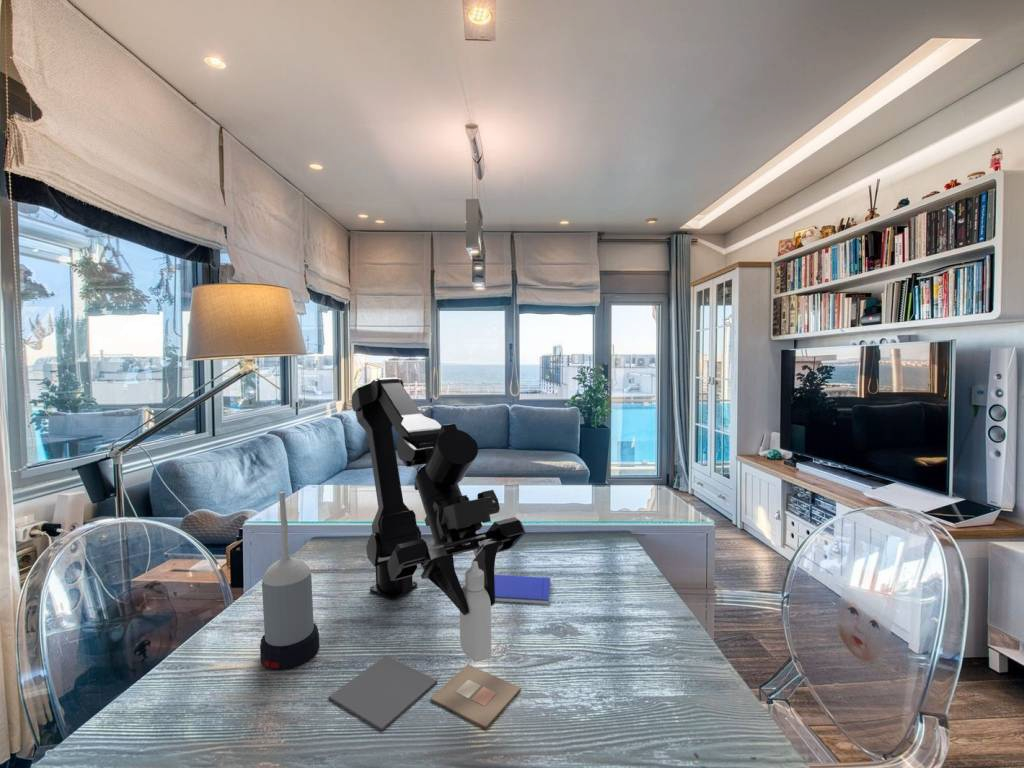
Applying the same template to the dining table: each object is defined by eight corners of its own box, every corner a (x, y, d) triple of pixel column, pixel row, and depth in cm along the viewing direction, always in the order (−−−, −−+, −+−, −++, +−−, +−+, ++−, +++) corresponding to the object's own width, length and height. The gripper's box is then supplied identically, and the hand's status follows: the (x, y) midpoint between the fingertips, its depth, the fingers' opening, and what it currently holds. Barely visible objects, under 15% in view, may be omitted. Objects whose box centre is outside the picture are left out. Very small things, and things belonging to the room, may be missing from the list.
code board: (430, 700, 65) (430, 697, 65) (467, 665, 72) (467, 663, 72) (485, 729, 60) (485, 726, 60) (520, 689, 67) (520, 687, 67)
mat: (328, 698, 65) (328, 696, 65) (386, 657, 74) (386, 655, 74) (381, 730, 60) (381, 728, 60) (437, 682, 68) (436, 680, 68)
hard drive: (479, 594, 90) (548, 598, 88) (487, 573, 98) (550, 576, 96) (480, 603, 90) (548, 607, 88) (487, 580, 98) (550, 584, 97)
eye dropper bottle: (492, 636, 68) (492, 552, 67) (490, 663, 63) (490, 572, 61) (461, 636, 68) (460, 552, 67) (456, 663, 63) (455, 572, 61)
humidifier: (257, 677, 70) (247, 504, 67) (263, 643, 77) (254, 487, 75) (319, 662, 73) (312, 496, 70) (319, 631, 80) (312, 481, 78)
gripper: (392, 483, 61) (428, 610, 53) (518, 462, 71) (565, 566, 63) (375, 524, 69) (404, 640, 61) (491, 500, 79) (530, 597, 71)
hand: (479, 609), depth 64 cm, fingers closed on eye dropper bottle, 3 cm apart
